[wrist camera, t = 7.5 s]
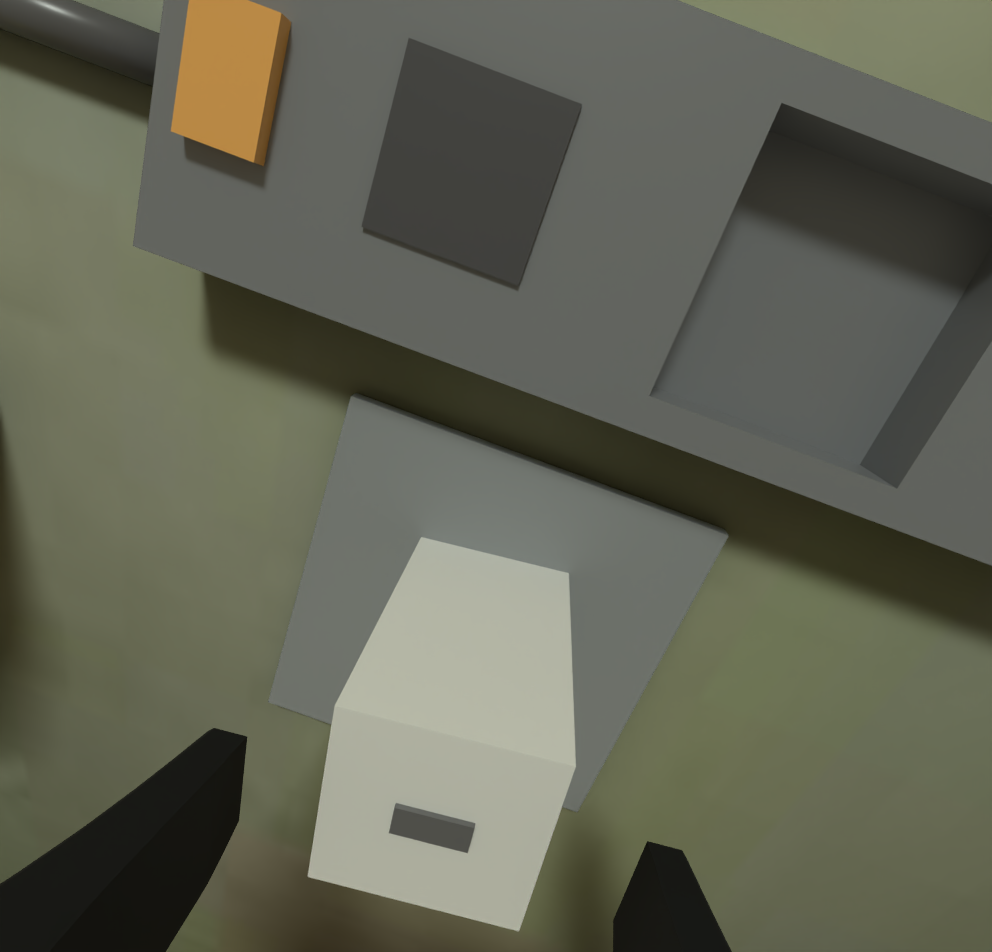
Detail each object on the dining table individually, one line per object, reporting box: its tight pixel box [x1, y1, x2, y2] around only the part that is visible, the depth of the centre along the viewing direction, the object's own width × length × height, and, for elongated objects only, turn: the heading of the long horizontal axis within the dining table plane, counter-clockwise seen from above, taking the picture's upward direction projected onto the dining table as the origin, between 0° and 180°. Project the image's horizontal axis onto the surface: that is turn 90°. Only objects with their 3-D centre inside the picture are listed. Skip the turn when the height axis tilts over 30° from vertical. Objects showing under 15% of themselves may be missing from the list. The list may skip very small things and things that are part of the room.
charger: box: [308, 537, 576, 931], centre depth 13 cm, size 4×4×7 cm
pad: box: [268, 393, 729, 812], centre depth 17 cm, size 10×10×1 cm
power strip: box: [0, 0, 992, 566], centre depth 12 cm, size 31×7×3 cm, turn 70°
